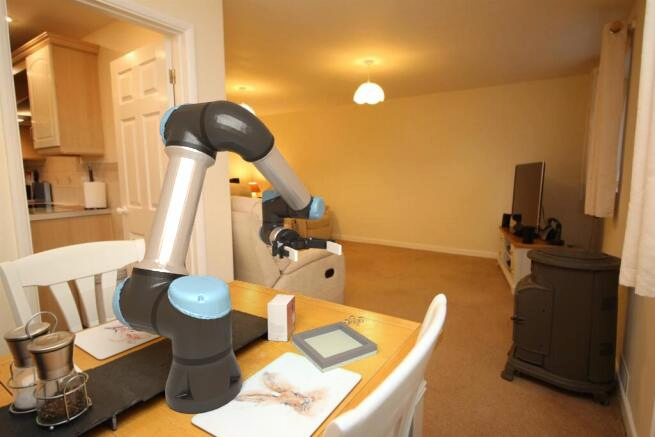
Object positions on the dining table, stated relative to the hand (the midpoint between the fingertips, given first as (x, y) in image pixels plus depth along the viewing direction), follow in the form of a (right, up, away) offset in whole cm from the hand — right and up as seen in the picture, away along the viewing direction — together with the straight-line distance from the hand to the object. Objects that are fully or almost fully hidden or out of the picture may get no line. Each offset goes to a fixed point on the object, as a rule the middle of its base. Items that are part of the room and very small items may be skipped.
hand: (319, 253), depth 91 cm
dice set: (+10, -23, +13) cm, 29 cm away
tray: (+4, -25, -3) cm, 25 cm away
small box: (-11, -24, +5) cm, 27 cm away
